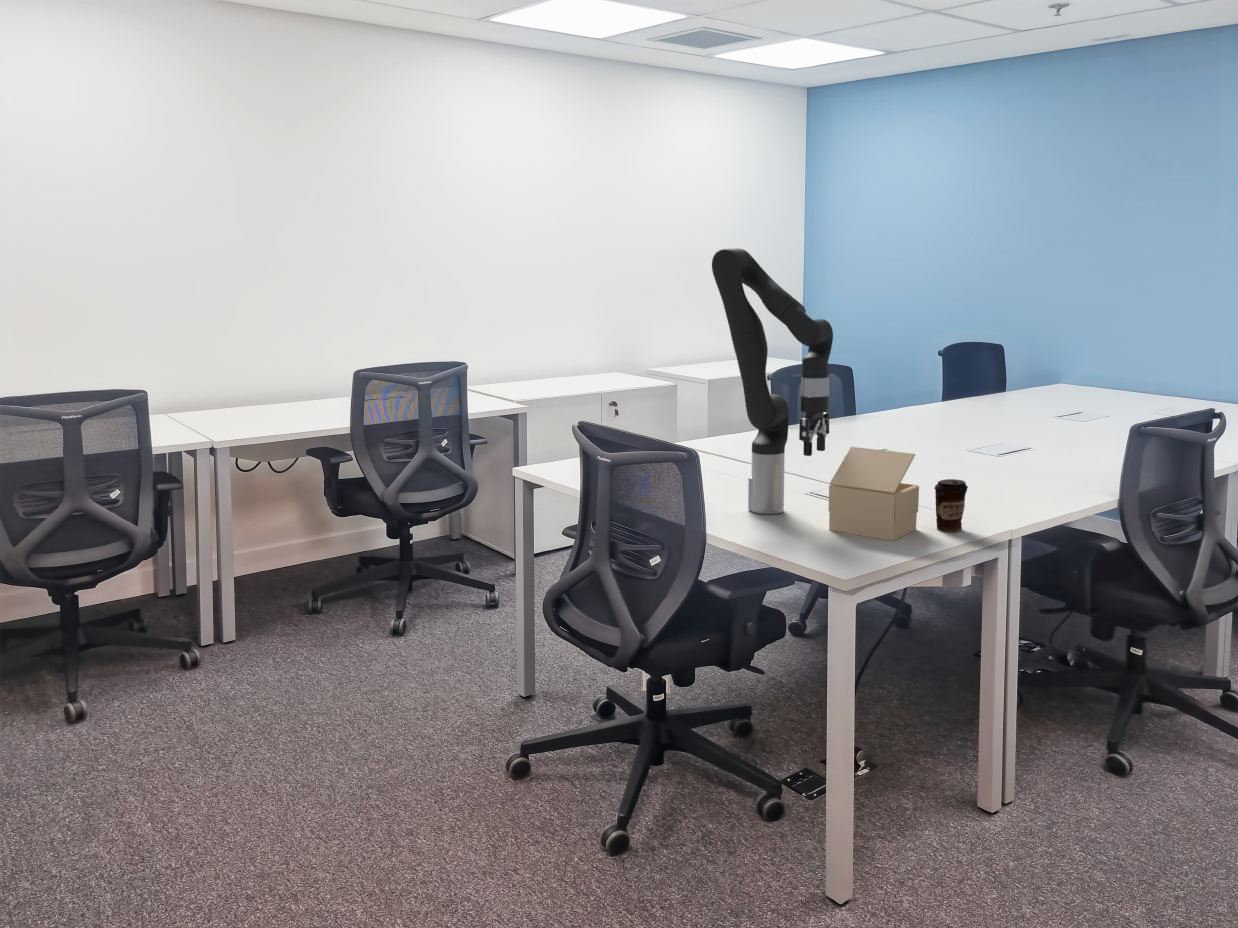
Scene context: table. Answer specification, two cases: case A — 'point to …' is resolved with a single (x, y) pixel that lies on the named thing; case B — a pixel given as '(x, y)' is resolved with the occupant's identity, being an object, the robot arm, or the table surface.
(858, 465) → the lid flap
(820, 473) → the table surface
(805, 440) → the robot arm
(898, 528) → the carton
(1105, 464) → the table surface
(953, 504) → the coffee cup
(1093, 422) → the table surface
